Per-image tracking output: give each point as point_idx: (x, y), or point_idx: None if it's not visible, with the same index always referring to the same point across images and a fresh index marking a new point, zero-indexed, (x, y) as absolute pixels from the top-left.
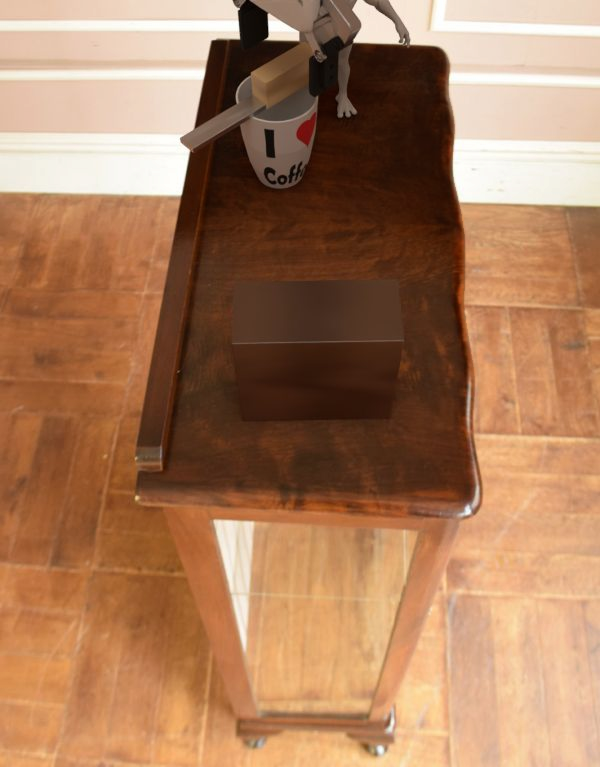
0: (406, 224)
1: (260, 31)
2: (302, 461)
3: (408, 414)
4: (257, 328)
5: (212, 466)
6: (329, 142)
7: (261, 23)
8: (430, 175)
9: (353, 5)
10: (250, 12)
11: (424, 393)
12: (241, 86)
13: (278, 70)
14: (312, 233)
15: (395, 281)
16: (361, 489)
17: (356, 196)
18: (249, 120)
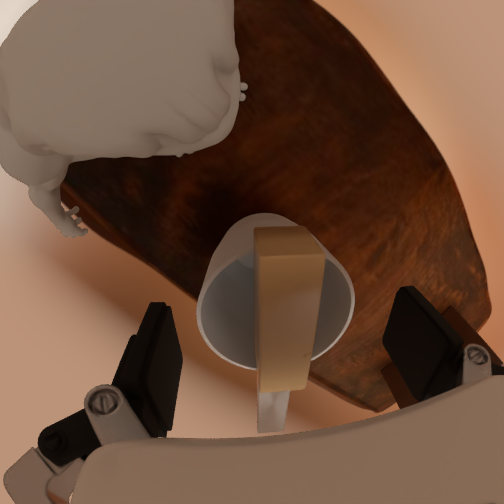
0: (416, 193)
1: (170, 345)
2: None
3: (467, 313)
4: None
5: None
6: (263, 154)
7: (163, 354)
8: (393, 112)
9: (233, 19)
10: (165, 417)
11: (471, 298)
12: (212, 344)
13: (298, 361)
14: (354, 274)
15: (502, 365)
16: None
17: (357, 201)
18: None
